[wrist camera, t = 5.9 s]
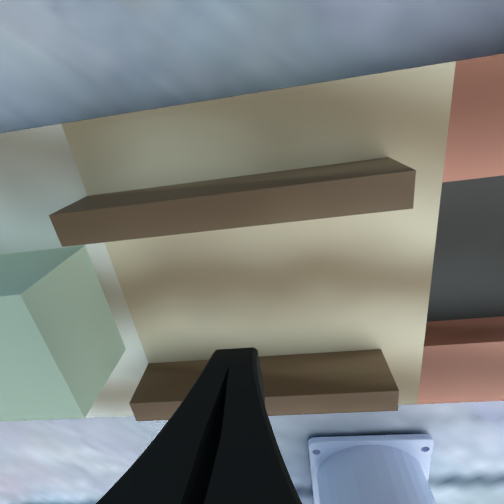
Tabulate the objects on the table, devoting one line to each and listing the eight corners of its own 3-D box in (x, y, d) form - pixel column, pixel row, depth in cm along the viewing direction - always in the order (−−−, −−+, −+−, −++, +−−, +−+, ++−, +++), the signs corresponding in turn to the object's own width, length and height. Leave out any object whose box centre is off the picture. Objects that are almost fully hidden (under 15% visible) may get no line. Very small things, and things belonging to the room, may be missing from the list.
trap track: (571, 366, 18) (659, 445, 14) (62, 392, 21) (12, 461, 17) (699, 24, 11) (944, -21, 7) (-72, 145, 15) (-205, 162, 11)
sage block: (125, 349, 17) (84, 417, 13) (5, 357, 17) (-65, 424, 14) (85, 245, 14) (20, 294, 10) (-54, 260, 15) (-158, 310, 11)
